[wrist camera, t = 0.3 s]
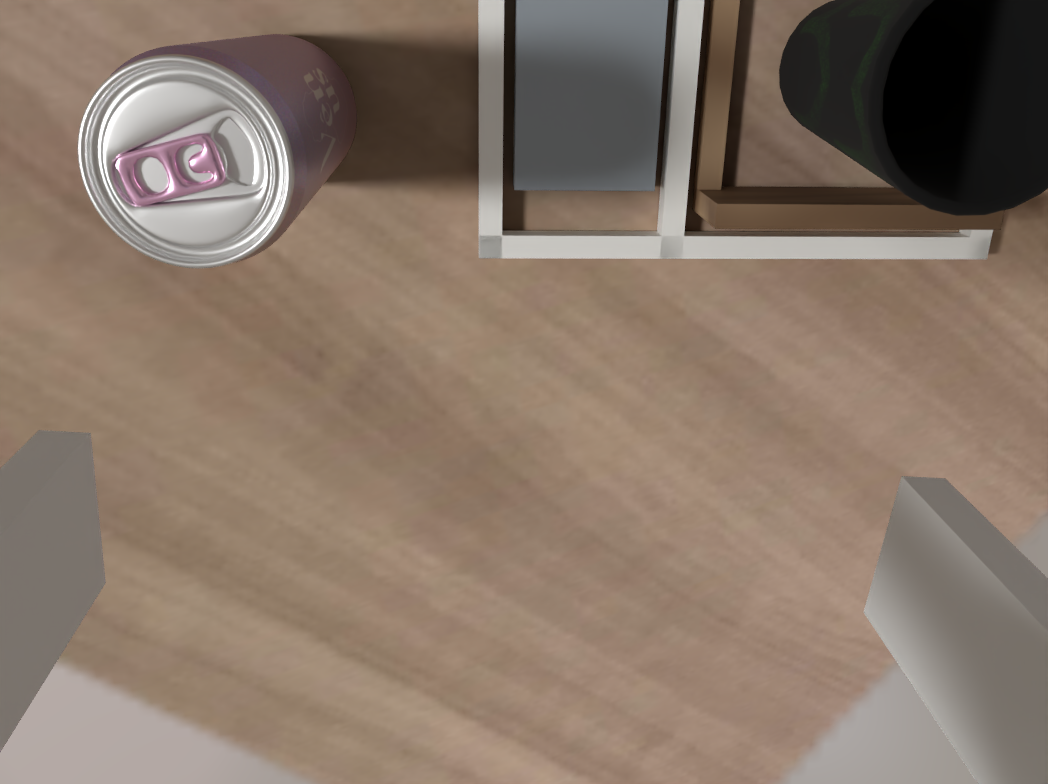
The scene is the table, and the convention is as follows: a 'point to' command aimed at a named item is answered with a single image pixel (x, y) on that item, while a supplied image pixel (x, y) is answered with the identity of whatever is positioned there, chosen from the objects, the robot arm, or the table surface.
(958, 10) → the cup
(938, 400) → the table surface
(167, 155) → the beverage can
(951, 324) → the table surface
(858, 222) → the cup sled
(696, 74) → the lane frame
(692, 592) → the table surface
